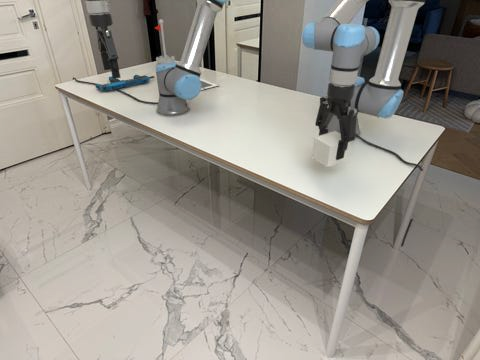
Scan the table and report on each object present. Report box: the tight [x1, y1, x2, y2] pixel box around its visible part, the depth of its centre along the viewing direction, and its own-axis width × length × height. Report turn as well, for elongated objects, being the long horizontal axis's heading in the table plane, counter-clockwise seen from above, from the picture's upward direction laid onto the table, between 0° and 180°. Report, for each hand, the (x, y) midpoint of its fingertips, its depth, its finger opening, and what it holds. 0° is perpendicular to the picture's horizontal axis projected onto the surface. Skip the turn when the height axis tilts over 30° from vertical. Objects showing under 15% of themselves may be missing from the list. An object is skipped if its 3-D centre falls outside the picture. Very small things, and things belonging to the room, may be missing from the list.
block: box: [311, 131, 353, 168], centre depth 109 cm, size 8×9×7 cm
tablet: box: [199, 77, 219, 91], centre depth 207 cm, size 32×20×1 cm, turn 41°
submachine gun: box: [95, 74, 155, 92], centre depth 206 cm, size 34×4×25 cm
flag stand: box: [154, 18, 176, 65], centre depth 234 cm, size 13×13×30 cm
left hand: (112, 73), depth 132 cm, fingers open, 13 cm apart
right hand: (330, 153), depth 110 cm, fingers closed on block, 7 cm apart
